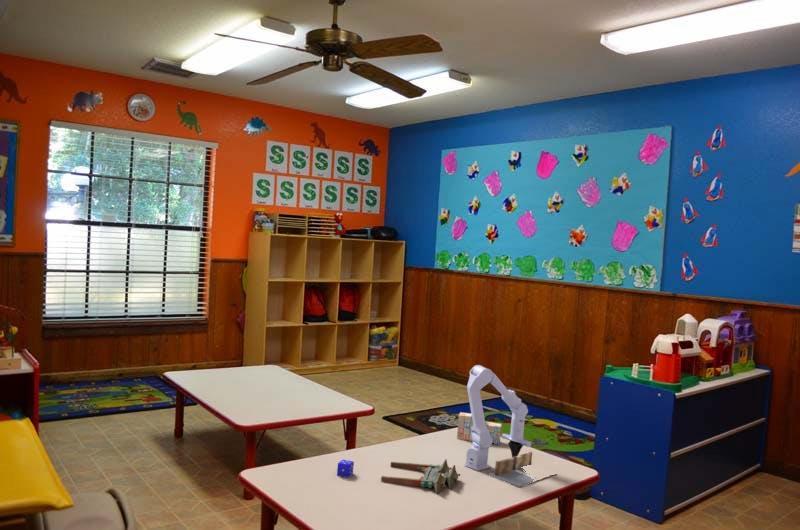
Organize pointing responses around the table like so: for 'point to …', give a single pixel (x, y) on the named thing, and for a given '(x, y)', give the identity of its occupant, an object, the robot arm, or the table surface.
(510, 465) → the walnut fence section
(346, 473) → the die
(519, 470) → the board
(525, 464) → the oak fence section
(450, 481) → the miniature gate
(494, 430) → the stack of blocks
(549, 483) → the table surface
